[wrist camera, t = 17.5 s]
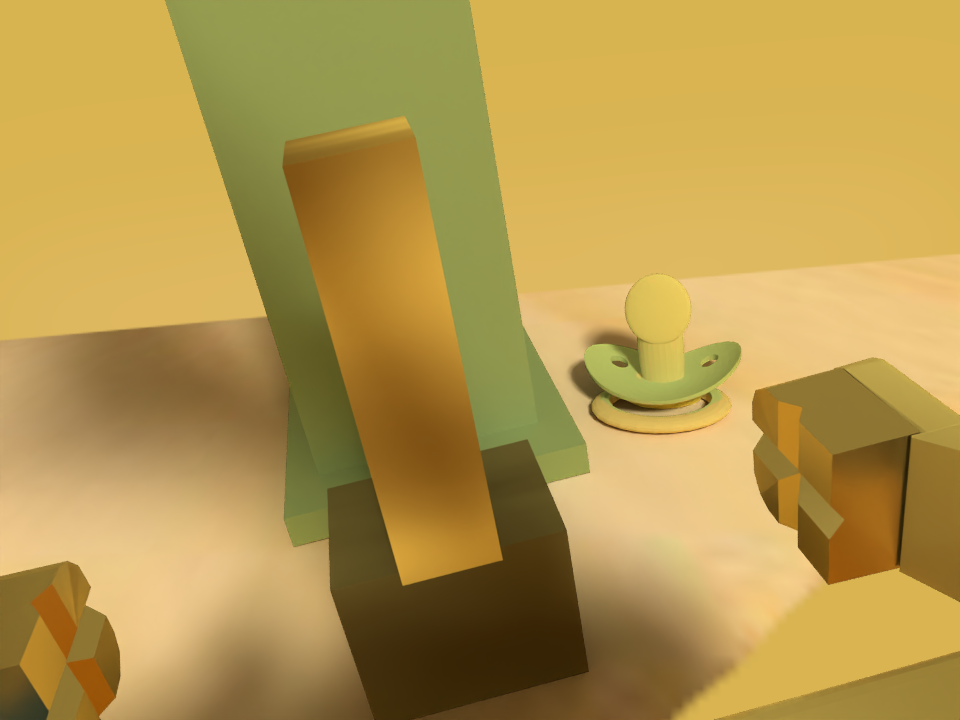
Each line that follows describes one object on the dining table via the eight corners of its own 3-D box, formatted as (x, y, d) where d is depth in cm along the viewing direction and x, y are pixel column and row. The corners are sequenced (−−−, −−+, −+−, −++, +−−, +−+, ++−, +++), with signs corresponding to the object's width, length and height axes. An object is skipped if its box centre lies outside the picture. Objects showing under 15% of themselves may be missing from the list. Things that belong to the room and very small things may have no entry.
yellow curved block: (377, 729, 27) (368, 616, 31) (588, 671, 27) (549, 569, 32) (191, 186, 18) (214, 136, 23) (502, 118, 19) (466, 82, 23)
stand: (272, 386, 49) (99, -129, 36) (540, 322, 50) (461, -196, 37) (258, 555, 35) (-21, -162, 23) (622, 463, 37) (544, -263, 24)
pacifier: (739, 445, 37) (743, 371, 42) (736, 321, 34) (740, 256, 39) (575, 440, 39) (596, 371, 44) (557, 324, 36) (582, 262, 41)
